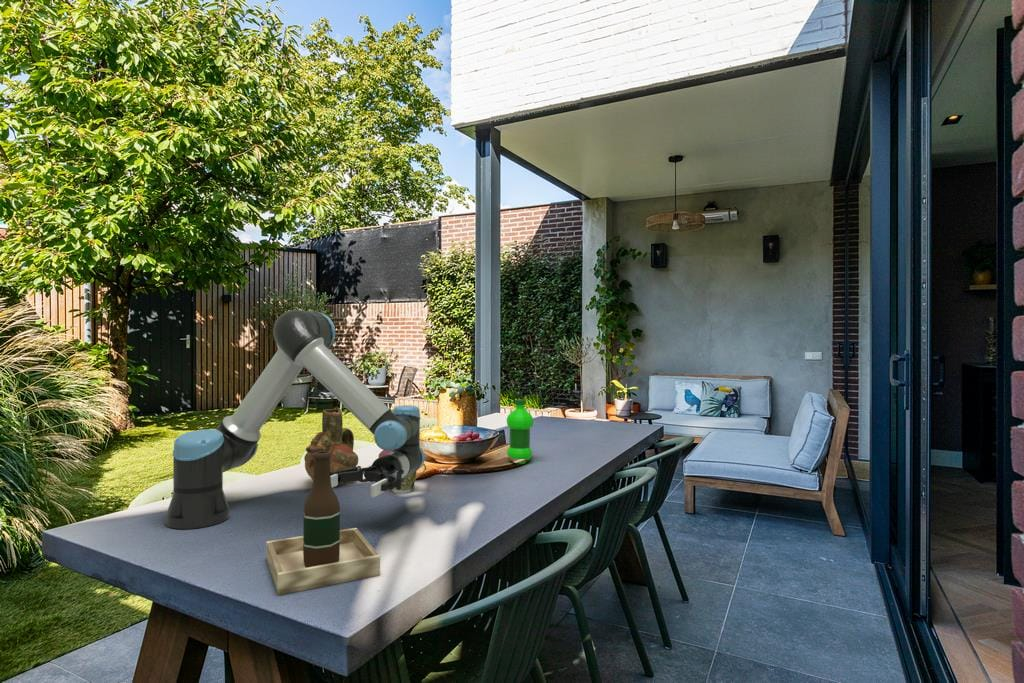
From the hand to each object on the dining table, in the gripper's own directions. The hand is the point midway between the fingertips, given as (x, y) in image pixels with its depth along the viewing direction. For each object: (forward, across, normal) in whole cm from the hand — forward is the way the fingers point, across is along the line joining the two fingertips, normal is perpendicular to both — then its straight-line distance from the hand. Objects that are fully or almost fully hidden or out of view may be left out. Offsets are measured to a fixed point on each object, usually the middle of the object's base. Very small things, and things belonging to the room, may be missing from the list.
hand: (346, 488), depth 133 cm
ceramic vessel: (-50, +38, -15) cm, 65 cm away
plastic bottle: (-102, -14, -15) cm, 104 cm away
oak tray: (+10, 0, -15) cm, 17 cm away
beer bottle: (+10, 0, -14) cm, 17 cm away
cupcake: (-78, +30, -15) cm, 85 cm away
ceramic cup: (-50, +9, -15) cm, 53 cm away
